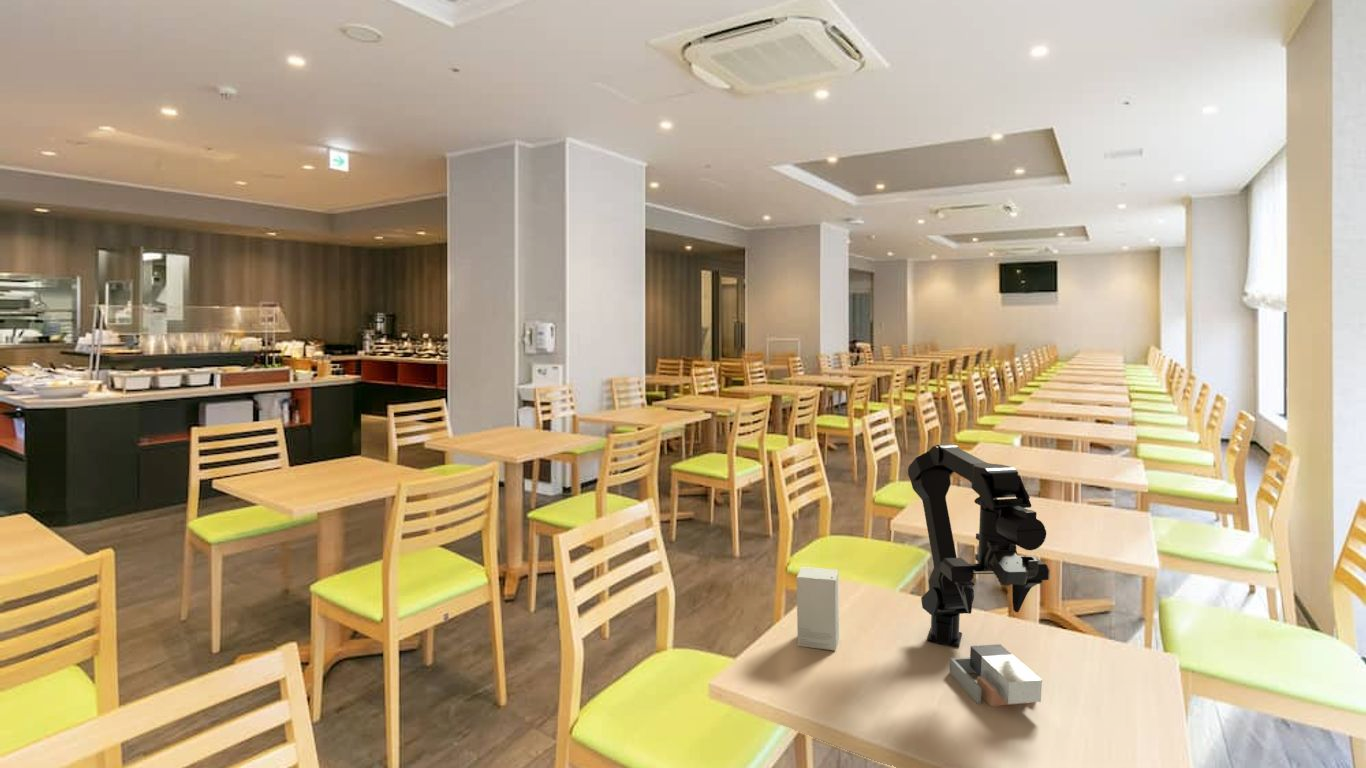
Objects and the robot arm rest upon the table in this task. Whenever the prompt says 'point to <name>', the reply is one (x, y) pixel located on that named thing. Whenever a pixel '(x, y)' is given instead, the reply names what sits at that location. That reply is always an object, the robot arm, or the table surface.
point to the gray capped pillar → (1005, 674)
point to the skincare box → (817, 608)
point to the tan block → (991, 694)
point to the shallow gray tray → (965, 677)
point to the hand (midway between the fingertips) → (992, 612)
